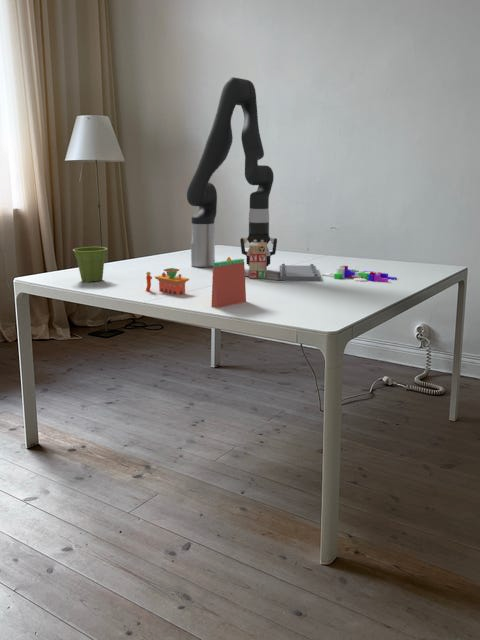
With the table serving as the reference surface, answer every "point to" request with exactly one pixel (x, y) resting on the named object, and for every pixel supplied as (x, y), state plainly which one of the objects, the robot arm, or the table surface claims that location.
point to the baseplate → (299, 273)
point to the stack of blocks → (257, 260)
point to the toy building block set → (224, 285)
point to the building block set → (359, 275)
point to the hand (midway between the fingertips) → (258, 265)
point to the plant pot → (90, 262)
